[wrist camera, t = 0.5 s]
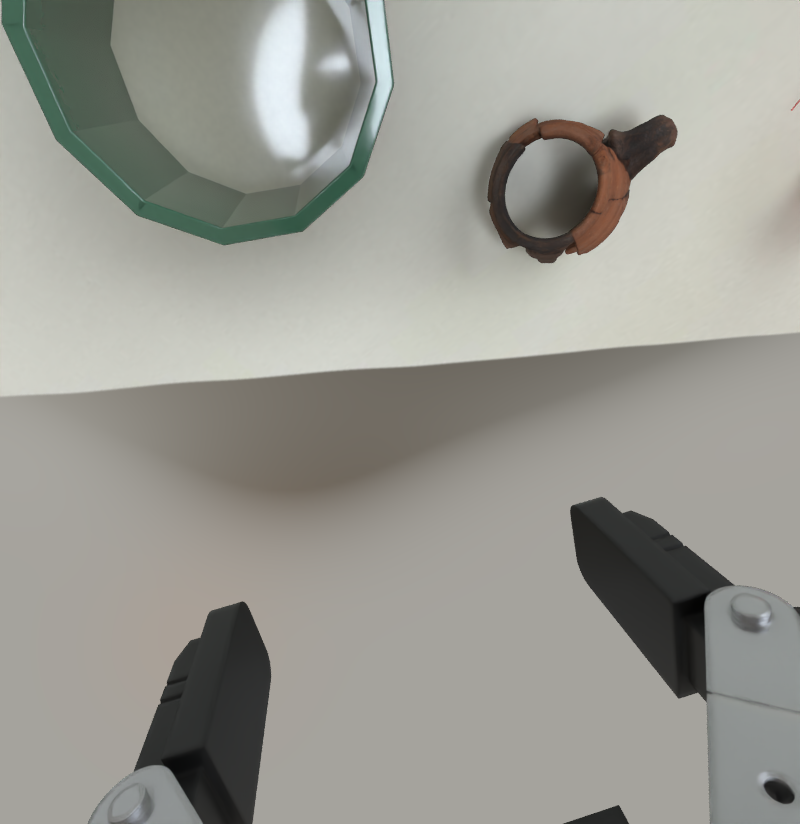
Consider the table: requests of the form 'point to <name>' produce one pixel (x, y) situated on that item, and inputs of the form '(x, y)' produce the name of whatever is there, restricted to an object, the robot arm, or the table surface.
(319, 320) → the table surface
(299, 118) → the pot
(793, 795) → the robot arm
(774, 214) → the table surface
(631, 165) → the brown ring-shaped piece
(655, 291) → the table surface
